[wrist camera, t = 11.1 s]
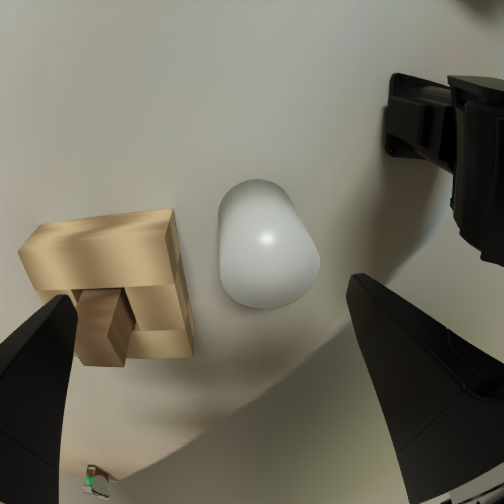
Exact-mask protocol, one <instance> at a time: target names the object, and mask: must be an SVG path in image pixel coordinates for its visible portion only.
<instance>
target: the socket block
mask: <svg viewBox="0 0 504 504" xmlns="http://www.w3.org/2000/svg"><path fill="white" fill-rule="evenodd" d="M18 254H19V257H20V259H21V261H22V263H23V266H24V268H25V270H26V272H27V274H28V276H29V279H30V281H31V283H32V285H33V287H34V289H35V291H36V293H37V295H38V297H39V298H40V300H41V302H42V304H43V306H44V305H45V304H46V303H47V302H48V301H50V300H51V299H52V298H53V297H54V296H56V295H58V294H67V295H69V296H70V298H71V300H72V302H73V305H74V307H76V305H77V303H78V301H79V298H80V296H81V294H82V292H83V290H84V289H95V288H117V287H124V288H125V291H126V294H127V296H128V299H129V302H130V305H131V307H132V310H133V313H134V315H135V319H134V323H133V328H132V332H131V337H130V341H129V346H128V351H127V355H126V358H134V359H152V358H191V357H193V347H194V320H193V316H192V311H191V306H190V302H189V297H188V292H187V287H186V282H185V277H184V271H183V266H182V261H181V255H180V250H179V244H178V238H177V232H176V226H175V219H174V213H173V209H165V210H154V211H145V212H135V213H126V214H118V215H109V216H101V217H94V218H86V219H79V220H71V221H64V222H58V223H51V224H44V225H40V226H39V227H38V228H37V229H36V230H35V231H34V232H33V234H32V235H31V236H30V237H29V238H28V239H27V241H26V242H25V243H24V244H23V245H22V247H21V248H20V249H19V250H18ZM73 356H77V355H76V353H75V352H74V355H73ZM77 357H78V356H77Z"/></svg>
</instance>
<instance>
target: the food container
mask: <svg viewBox="0 0 504 504" xmlns="http://www.w3.org/2000/svg"><path fill="white" fill-rule="evenodd" d="M109 481H110V473H108V472H106V471H104V470H103V469H101V468H99V467H98V466H96V465H88V468H87V472H86V477H85V483H84V486H82V490H83V492H84V493H85V494H88V495H91V496H94V497H97V498H101V499H106V500H109V499H110V495H109Z"/></svg>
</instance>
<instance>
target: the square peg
mask: <svg viewBox="0 0 504 504" xmlns="http://www.w3.org/2000/svg"><path fill="white" fill-rule="evenodd" d="M75 309H76V311H77V313H78V324H77V331H76V339H75V347H74V352H75V353H76V355H77V356H78V358H79V359H80V361H81V362H82V364H83V365H84V366H99V367H124V365H125V360H126V355H127V351H128V346H129V341H130V337H131V332H132V328H133V323H134V319H135V315H134V313H133V310H132V307H131V305H130V302H129V299H128V296H127V294H126V291H125V288H124V287H117V288H95V289H84V290H83V292H82V294H81V296H80V298H79V301H78V303H77V305H76V307H75Z"/></svg>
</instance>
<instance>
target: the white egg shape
mask: <svg viewBox="0 0 504 504" xmlns="http://www.w3.org/2000/svg"><path fill="white" fill-rule="evenodd" d="M218 220H219V261H220V279H221V283H222V286H223V288H224V290H225V291H226V293H227V294H228V295H229V296H230V297H231V298H232V299H233V300H235V301H236V302H238V303H240V304H242V305H244V306H247V307H251V308H256V309H273V308H278V307H282V306H285V305H288V304H290V303H292V302H294V301H296V300H298V299H299V298H300V297H302V296H303V295H304V294H305V293H307V292H308V291H309V289H310V288H311V287H312V286H313V284H314V283H315V281H316V279H317V277H318V274H319V270H320V257H319V254H318V251H317V249H316V247H315V245H314V243H313V241H312V239H311V237H310V235H309V233H308V231H307V230H306V228H305V226H304V224H303V222H302V220H301V218H300V216H299V215H298V213H297V211H296V209H295V207H294V205H293V204H292V202H291V200H290V198H289V196H288V195H287V193H286V192H285V191H284V190H283V189H282V188H281V187H280V186H278V185H277V184H275V183H273V182H270V181H266V180H257V179H255V180H248V181H245V182H242V183H240V184H238V185H236V186H234V187H233V188H232V189H231V190H229V191H228V192H227V194H226V195H225V196H224V198H223V199H222V201H221V203H220V207H219V212H218Z"/></svg>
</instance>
